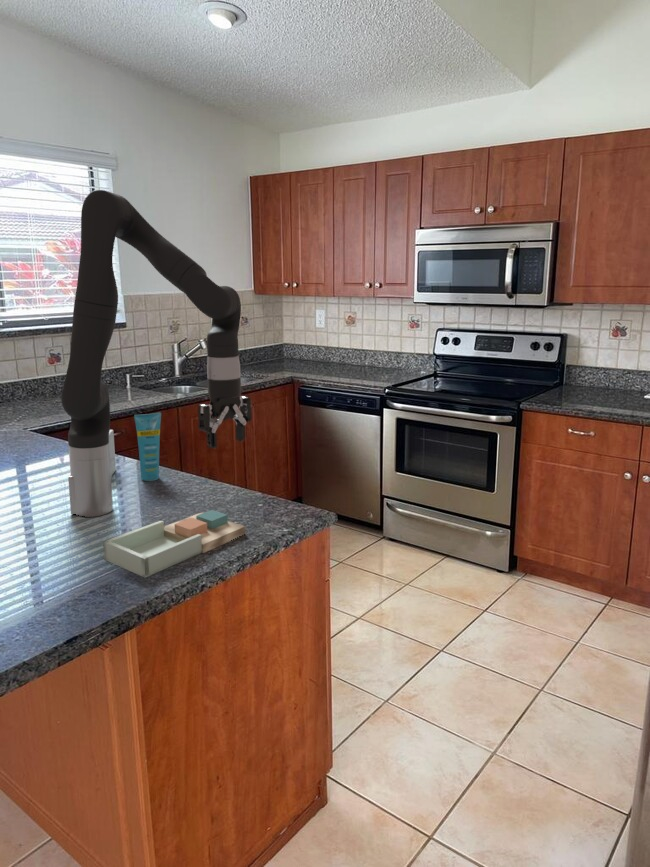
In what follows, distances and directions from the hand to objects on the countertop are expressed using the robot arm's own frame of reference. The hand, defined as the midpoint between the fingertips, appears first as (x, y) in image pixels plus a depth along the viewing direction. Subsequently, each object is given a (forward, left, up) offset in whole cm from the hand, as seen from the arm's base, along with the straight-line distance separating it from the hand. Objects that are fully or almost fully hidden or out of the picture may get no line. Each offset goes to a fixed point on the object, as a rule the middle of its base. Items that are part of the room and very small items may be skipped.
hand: (226, 444), depth 151 cm
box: (-15, -20, -19) cm, 31 cm away
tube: (-23, +33, -19) cm, 44 cm away
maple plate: (-5, -9, -19) cm, 22 cm away
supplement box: (-38, +38, -19) cm, 57 cm away
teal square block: (-3, -7, -17) cm, 19 cm away
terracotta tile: (-8, -12, -17) cm, 22 cm away
